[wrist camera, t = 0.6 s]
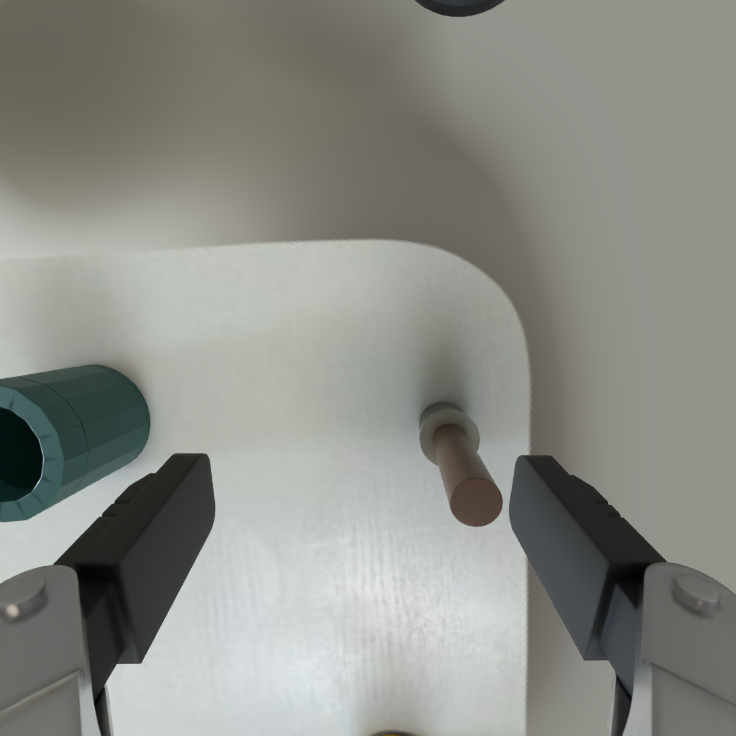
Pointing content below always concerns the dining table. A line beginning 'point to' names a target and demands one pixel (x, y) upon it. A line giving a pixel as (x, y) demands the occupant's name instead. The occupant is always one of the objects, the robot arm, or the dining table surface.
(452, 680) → the dining table surface
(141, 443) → the jar
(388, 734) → the bottle
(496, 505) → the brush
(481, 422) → the dining table surface
